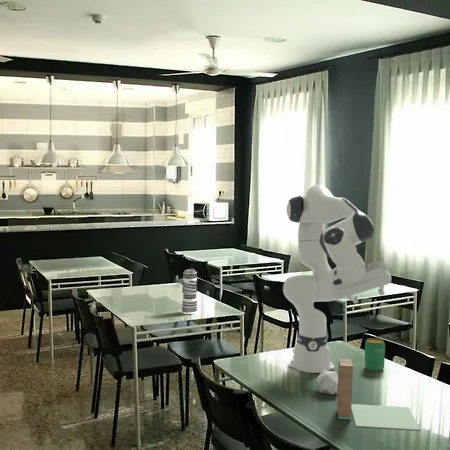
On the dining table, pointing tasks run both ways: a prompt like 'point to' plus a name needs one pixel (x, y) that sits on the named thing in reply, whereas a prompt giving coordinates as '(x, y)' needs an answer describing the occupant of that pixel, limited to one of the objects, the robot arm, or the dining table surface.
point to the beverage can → (374, 354)
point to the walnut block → (344, 389)
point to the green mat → (383, 417)
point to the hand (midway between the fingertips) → (369, 298)
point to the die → (327, 382)
